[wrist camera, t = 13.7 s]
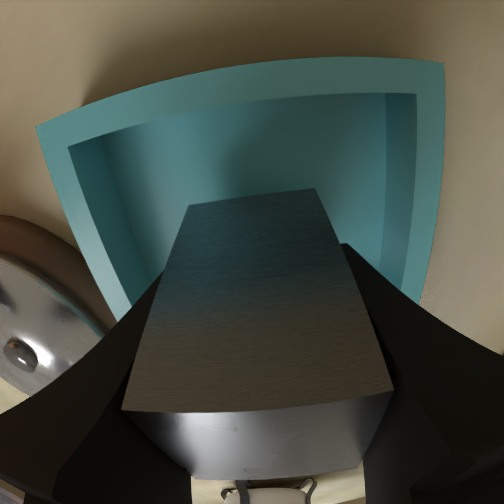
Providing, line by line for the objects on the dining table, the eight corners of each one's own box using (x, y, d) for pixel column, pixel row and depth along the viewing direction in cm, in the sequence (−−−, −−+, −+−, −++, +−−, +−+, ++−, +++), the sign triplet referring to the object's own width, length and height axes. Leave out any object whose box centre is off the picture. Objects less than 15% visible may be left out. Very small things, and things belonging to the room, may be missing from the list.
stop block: (319, 286, 12) (357, 467, 6) (214, 298, 12) (195, 479, 6) (315, 188, 10) (394, 390, 4) (188, 205, 10) (121, 409, 4)
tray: (386, 308, 15) (404, 351, 13) (163, 333, 16) (152, 378, 14) (400, 59, 9) (443, 63, 6) (79, 108, 10) (35, 126, 7)
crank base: (184, 398, 20) (182, 413, 19) (28, 384, 22) (24, 395, 20) (80, 182, 11) (65, 195, 10) (-72, 239, 13) (-82, 249, 12)
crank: (156, 413, 19) (144, 487, 14) (14, 386, 19) (-8, 439, 14) (70, 227, 11) (-9, 335, 6) (-77, 245, 11) (-126, 301, 6)
